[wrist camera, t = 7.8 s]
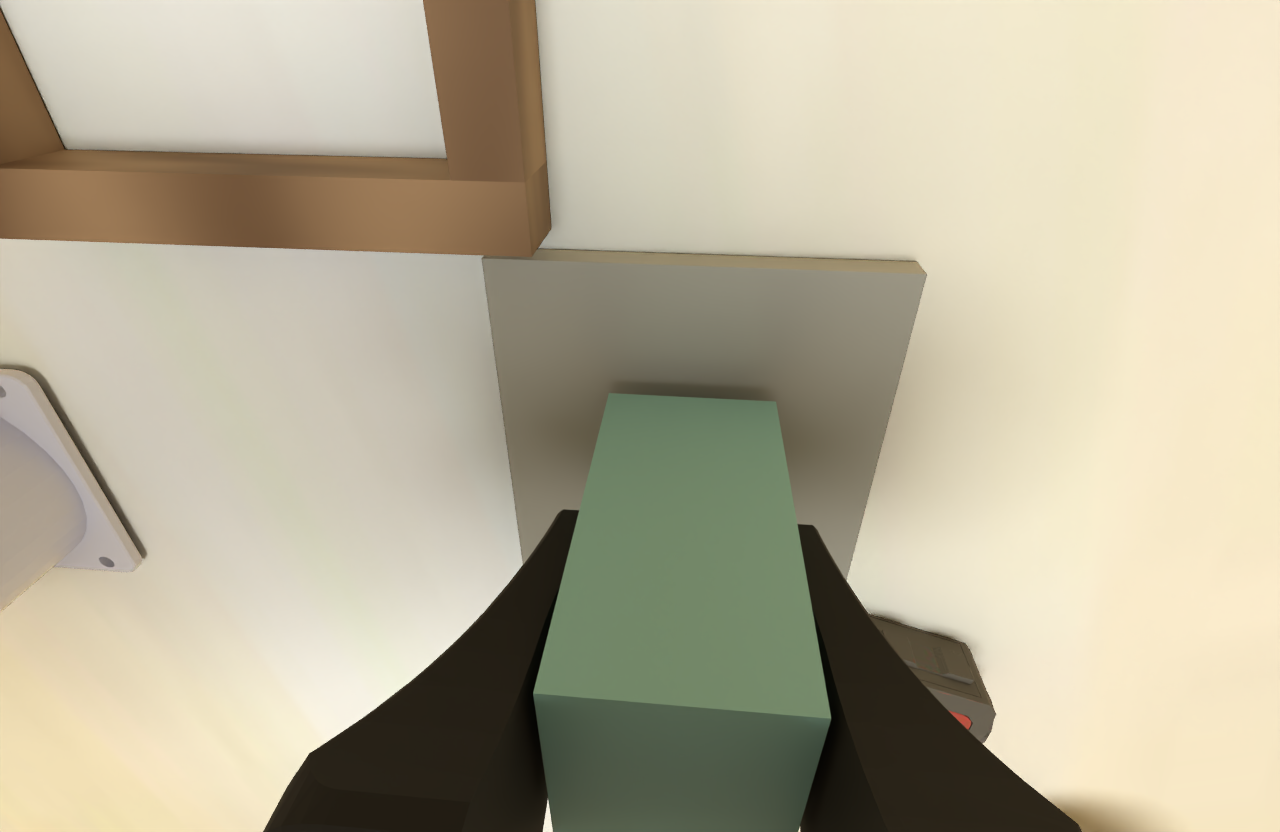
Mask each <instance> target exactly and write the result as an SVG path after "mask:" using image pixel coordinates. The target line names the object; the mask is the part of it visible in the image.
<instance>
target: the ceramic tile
mask: <svg viewBox="0 0 1280 832" xmlns="http://www.w3.org/2000/svg"><path fill="white" fill-rule="evenodd" d="M482 264H483V272H484V279H485V287H486V294H487V301H488V309H489V316H490V324H491V331H492V338H493V346H494V353H495V361H496V368H497V375H498V383H499V390H500V398H501V405H502V412H503V420H504V427H505V435H506V442H507V449H508V457H509V464H510V472H511V479H512V486H513V494H514V501H515V509H516V516H517V523H518V531H519V538H520V546H521V553H522V560H523V564H524V563H525V562H526V560H527V559H528V558H529V556H530V555H531V554H532V552H533V551H534V549H535V548H536V546H537V545H538V544H539V542H540V541H541V539H542V538H543V536H544V535H545V533H546V532H547V530H548V529H549V527H550V526H551V524H552V522H553V521H554V519H555V517H556V516H557V514H558V513H559V512H560V511H561V510H563V509H567V510H580V506H581V502H582V498H583V494H584V490H585V486H586V482H587V478H588V474H589V470H590V466H591V462H592V458H593V454H594V450H595V446H596V442H597V438H598V434H599V430H600V426H601V422H602V418H603V415H604V411H605V407H606V403H607V399H608V395H609V393H616V394H636V395H656V396H676V397H696V398H715V399H735V400H755V401H775V402H776V404H777V410H778V416H779V422H780V427H781V433H782V439H783V445H784V450H785V456H786V462H787V467H788V473H789V479H790V485H791V490H792V496H793V502H794V508H795V513H796V519H797V524H805V525H813V526H814V527H815V528H816V529H817V530H818V532H819V534H820V536H821V538H822V540H823V542H824V544H825V545H826V547H827V549H828V551H829V553H830V554H831V556H832V558H833V560H834V561H835V563H836V565H837V566H838V568H839V570H840V571H841V573H842V575H843V576H844V578H845V579H846V580H847V576H848V572H849V568H850V564H851V561H852V557H853V553H854V549H855V545H856V542H857V538H858V534H859V530H860V526H861V523H862V519H863V515H864V511H865V507H866V504H867V500H868V496H869V492H870V488H871V485H872V481H873V477H874V473H875V469H876V466H877V462H878V458H879V454H880V450H881V447H882V443H883V439H884V435H885V431H886V428H887V424H888V420H889V416H890V412H891V409H892V405H893V401H894V397H895V394H896V390H897V386H898V382H899V378H900V375H901V371H902V367H903V363H904V359H905V356H906V352H907V348H908V344H909V340H910V337H911V333H912V329H913V325H914V321H915V318H916V314H917V310H918V306H919V302H920V299H921V295H922V291H923V287H924V283H925V280H926V276H927V274H926V272H925V271H924V270H923V269H922V267H921V266H920V265H919V264H918V263H917V262H909V261H880V260H851V259H821V258H792V257H762V256H733V255H703V254H674V253H644V252H615V251H585V250H556V249H537V250H536V252H535V253H534V254H533V256H532V257H519V256H490V255H484V256H483V258H482Z"/></svg>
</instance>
